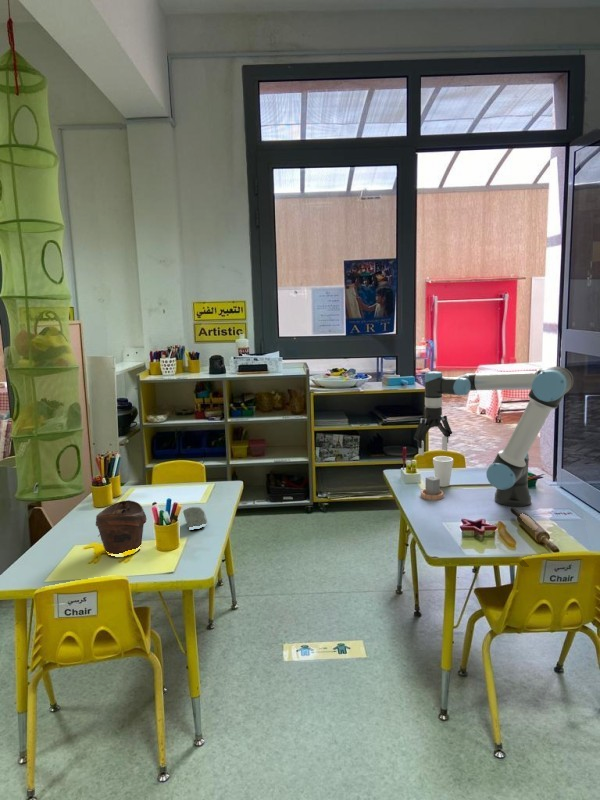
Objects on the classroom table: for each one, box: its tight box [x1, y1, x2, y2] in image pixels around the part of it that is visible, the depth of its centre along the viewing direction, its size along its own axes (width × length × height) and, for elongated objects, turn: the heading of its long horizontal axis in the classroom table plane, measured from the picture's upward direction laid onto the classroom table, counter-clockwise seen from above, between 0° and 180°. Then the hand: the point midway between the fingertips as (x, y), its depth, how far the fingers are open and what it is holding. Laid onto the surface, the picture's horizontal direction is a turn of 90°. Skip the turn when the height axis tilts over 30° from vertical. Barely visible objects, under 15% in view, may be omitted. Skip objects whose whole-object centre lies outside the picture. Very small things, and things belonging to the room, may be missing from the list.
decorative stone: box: [182, 506, 208, 528], centre depth 229 cm, size 13×11×10 cm
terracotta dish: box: [420, 488, 445, 501], centre depth 255 cm, size 10×10×2 cm
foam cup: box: [432, 455, 454, 488], centre depth 270 cm, size 10×9×13 cm
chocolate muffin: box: [95, 499, 148, 559], centre depth 207 cm, size 18×20×18 cm
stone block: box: [424, 475, 441, 495], centre depth 255 cm, size 5×4×8 cm
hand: (433, 452), depth 252 cm, fingers open, 13 cm apart
